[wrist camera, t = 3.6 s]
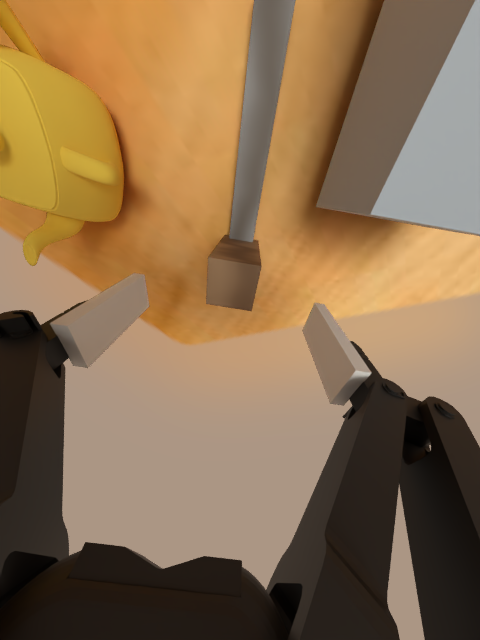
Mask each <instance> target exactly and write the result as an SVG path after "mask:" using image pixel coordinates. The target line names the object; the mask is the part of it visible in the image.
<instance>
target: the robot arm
mask: <svg viewBox="0 0 480 640" xmlns="http://www.w3.org/2000/svg"><path fill="white" fill-rule="evenodd" d="M148 307H149V300H148V294H147V288H146V281H145V275H144V274H138V273H133V274H132V275H130V276H128V277H127V278H125V279H123V280H121V281H120V282H118V283H116V284H115V285H113V286H111V287H110V288H108V289H106V290H105V291H103V292H101V293H100V294H98V295H96V296H95V297H93V298H91V299H90V300H87V301H84V302H81V303H78V304H76V305H75V306H73V307H71V308H70V309H68V310H66V311H64V313H61V314H59V315H57V316H56V317H54V318H52V319H50V320H49V321H47V322H45V323H44V324H42V325H40V324H39V322H38V321H37V319H36V317H35V316H34V314H33V312H30V311H26V310H16V311H9V312H4V313H2V314H0V640H400V639H399V634H398V629H397V625H396V623H395V621H394V619H393V617H392V615H391V613H390V611H389V609H388V604H387V590H388V581H389V570H390V562H391V553H392V543H393V534H394V525H395V515H396V506H397V497H398V487H399V485H400V491H401V497H402V502H403V509H404V515H405V521H406V527H407V533H408V540H409V545H410V552H411V558H412V564H413V570H414V576H415V582H416V589H417V595H418V601H419V607H420V613H421V619H422V625H423V631H424V637H425V640H480V447H479V445H478V443H477V442H476V440H475V438H474V436H473V434H472V432H471V431H470V429H469V427H468V425H467V423H466V421H465V420H464V418H463V417H462V415H461V414H460V413H459V412H458V411H457V410H456V409H455V408H454V407H453V406H451V405H450V404H448V403H447V402H445V401H443V400H441V399H438V398H436V397H428V398H426V399H425V400H424V401H422V402H421V401H419V400H416V399H413V398H411V397H408V396H407V395H406V393H405V392H404V390H403V389H401V388H400V387H399V386H398V385H397V384H395V383H394V382H392V381H389V380H387V379H384V378H382V377H381V375H380V374H379V373H378V371H377V370H376V368H375V367H374V366H373V364H372V363H371V362H370V360H368V357H367V356H366V355H365V353H364V352H363V351H362V349H361V348H360V347H359V346H358V345H357V344H355V343H354V342H353V341H349V339H348V338H347V336H346V335H345V333H344V332H343V331H342V329H341V328H340V326H339V325H338V323H337V322H336V320H335V319H334V318H333V316H332V315H331V313H330V312H329V310H328V309H327V307H326V306H325V305H324V304H320V303H314V305H313V308H312V310H311V312H310V314H309V317H308V319H307V321H306V324H305V326H304V328H303V334H304V336H305V339H306V341H307V344H308V347H309V349H310V352H311V355H312V357H313V360H314V362H315V365H316V368H317V370H318V373H319V375H320V378H321V381H322V383H323V386H324V389H325V391H326V394H327V397H328V399H329V402H330V403H331V404H337V405H345V403H346V402H347V401H348V400H349V399H350V401H351V403H352V407H351V408H350V409H349V410H348V411H347V413H346V414H345V415H344V416H343V418H345V417H346V418H345V421H344V423H343V425H342V427H341V430H340V432H339V435H338V437H337V439H336V441H335V443H334V446H333V448H332V450H331V453H330V455H329V457H328V460H327V462H326V464H325V466H324V469H323V471H322V473H321V476H320V478H319V480H318V483H317V485H316V487H315V489H314V492H313V494H312V496H311V499H310V501H309V503H308V506H307V508H306V510H305V512H304V515H303V517H302V519H301V522H300V524H299V526H298V529H297V531H296V533H295V535H294V538H293V540H292V542H291V544H290V546H289V547H288V549H287V550H286V552H285V553H284V555H283V556H282V558H281V559H280V561H279V563H278V565H277V567H276V569H275V571H274V573H273V576H272V578H271V580H270V582H269V585H268V587H267V589H266V590H265V588H264V587H263V586H262V585H261V583H260V582H259V581H258V580H257V579H256V578H255V577H254V576H253V575H252V574H251V573H250V572H249V571H247V570H246V569H244V568H243V567H242V561H241V560H233V559H224V558H216V557H207V556H203V557H200V558H197V559H194V560H190V561H188V562H184V563H181V564H178V565H175V566H171V567H168V568H165V569H162V568H160V567H159V566H158V565H156V564H154V563H153V562H151V561H150V560H148V559H147V558H145V557H144V556H142V555H140V554H138V553H136V552H134V551H132V550H130V549H128V548H126V547H122V546H114V545H104V544H97V543H88V542H85V544H84V546H83V549H82V550H81V551H79V552H77V553H74V554H72V555H70V556H69V543H68V534H67V529H66V527H65V524H64V522H63V517H62V493H63V447H64V403H65V402H64V400H65V366H64V364H63V362H64V361H65V360H67V359H68V358H69V359H70V361H71V363H72V364H73V366H79V367H85V368H88V367H89V366H90V365H91V364H92V363H93V362H94V361H95V360H96V359H97V358H98V357H99V356H100V355H101V354H102V353H103V352H104V351H105V350H106V349H107V348H108V347H109V346H110V345H111V344H112V343H113V342H114V341H115V340H116V339H117V338H118V337H119V336H120V335H121V334H122V333H123V332H124V331H125V330H126V329H127V328H128V327H129V326H130V325H131V324H132V323H133V322H134V321H135V320H136V319H137V318H138V317H139V316H140V315H141V314H142V313H143V312H144V311H145V310H146V309H147V308H148ZM429 445H431V451H430V448H429Z"/></svg>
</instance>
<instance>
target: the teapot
mask: <svg viewBox="0 0 480 640" xmlns="http://www.w3.org/2000/svg"><path fill="white" fill-rule="evenodd" d="M0 26H1V27H2V28H3V30H4V31H5V32H6V34H7V35H8V36H9V37H10V39H11V40H12V41H13V43H14V44H15V45H16V47H17V48H18V49H19V51H18V50H15V49H12V48H9V47H6V46H3V45H1V44H0V197H2V198H5V199H8V200H11V201H13V202H16V203H19V204H22V205H25V206H29V207H32V208H35V209H39V210H42V211H45V212H47V217H46V220H45V223H44V224H43V225H42V226H41V227H39V228H38V229H36V230H34V231H32V232H31V233H30V234H29V235H28V236H27V237H26V238H25V240H24V243H23V252H24V256H25V258H26V260H27V262H28V263H29V264H30V265H32V266H34V265H36V263H37V261H38V258H39V255H40V253H41V251H42V250H43V249H44V248H45V247H46V246H48V245H49V244H51V243H54V242H57V241H60V240H63V239H66V238H69V237H72V236H74V235H76V234H77V233H78V232H79V231H80V230H81V229H82V227H83V225H84V223H85V221H92V222H106V221H111V220H113V219H115V218H116V217H117V216H118V214H119V212H120V210H121V206H122V200H123V189H124V171H123V162H122V156H121V151H120V146H119V141H118V137H117V133H116V129H115V126H114V123H113V120H112V118H111V115H110V113H109V111H108V109H107V108H106V106H105V104H104V103H103V101H102V100H101V98H100V97H99V96H98V95H97V94H96V93H95V92H94V91H93V90H92V89H91V88H90V87H89V86H87V85H86V84H84V83H83V82H81V81H79V80H78V79H76V78H74V77H72V76H70V75H69V74H67V73H65V72H63V71H61V70H59V69H57V68H55V67H53V66H51V65H49V64H47V63H45V61H44V60H43V58H42V57H41V55H40V53H39V52H38V50H37V49H36V47H35V45H34V44H33V42H32V41H31V39H30V37H29V36H28V34H27V33H26V31H25V30H24V28H23V26H22V25H21V23H20V22H19V20H18V19H17V17H16V16H15V14H14V12H13V11H12V9H11V8H10V6H9V5H8V3H7V2H6V0H0Z"/></svg>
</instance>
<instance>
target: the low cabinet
mask: <svg viewBox="0 0 480 640" xmlns="http://www.w3.org/2000/svg"><path fill="white" fill-rule="evenodd" d="M316 207H319V208H324V209H330V210H335V211H341V212H346V213H352V214H357V215H363V216H368V217H374V218H379V219H385V220H390V221H396V222H401V223H407V224H412V225H418V226H423V227H429V228H435V229H441V230H447V231H453V232H459V233H465V234H471V235H477V236H480V0H384V3H383V6H382V9H381V12H380V15H379V18H378V21H377V24H376V27H375V30H374V33H373V36H372V39H371V42H370V45H369V48H368V51H367V54H366V57H365V60H364V63H363V66H362V69H361V72H360V75H359V78H358V81H357V84H356V87H355V90H354V93H353V96H352V99H351V102H350V105H349V108H348V111H347V114H346V117H345V120H344V123H343V126H342V129H341V132H340V135H339V138H338V141H337V144H336V147H335V150H334V153H333V156H332V159H331V162H330V165H329V168H328V171H327V174H326V177H325V180H324V183H323V186H322V189H321V192H320V195H319V198H318V201H317V204H316Z"/></svg>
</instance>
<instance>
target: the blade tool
mask: <svg viewBox="0 0 480 640" xmlns="http://www.w3.org/2000/svg"><path fill="white" fill-rule="evenodd" d="M294 6H295V0H254V6H253V16H252V25H251V35H250V45H249V54H248V64H247V73H246V83H245V92H244V102H243V111H242V121H241V130H240V140H239V150H238V159H237V169H236V178H235V188H234V197H233V207H232V216H231V226H230V235H225V236H224V237H223V238H222V240H221V241H220V242H219V244H218V245H217V246H216V248H215V249H214V250H213V252H212V253H211V254H210V256H209V257H208V274H207V296H206V304H210V305H216V306H223V307H229V308H235V309H242V310H248V311H252V307H253V302H254V298H255V293H256V288H257V284H258V279H259V275H260V270H261V259H260V252H259V244H258V240H253V237H254V232H255V226H256V220H257V215H258V209H259V203H260V198H261V192H262V186H263V181H264V175H265V170H266V164H267V158H268V153H269V147H270V141H271V136H272V130H273V124H274V119H275V113H276V107H277V102H278V96H279V90H280V85H281V79H282V73H283V68H284V62H285V56H286V51H287V45H288V39H289V34H290V28H291V23H292V17H293V11H294Z"/></svg>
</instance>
